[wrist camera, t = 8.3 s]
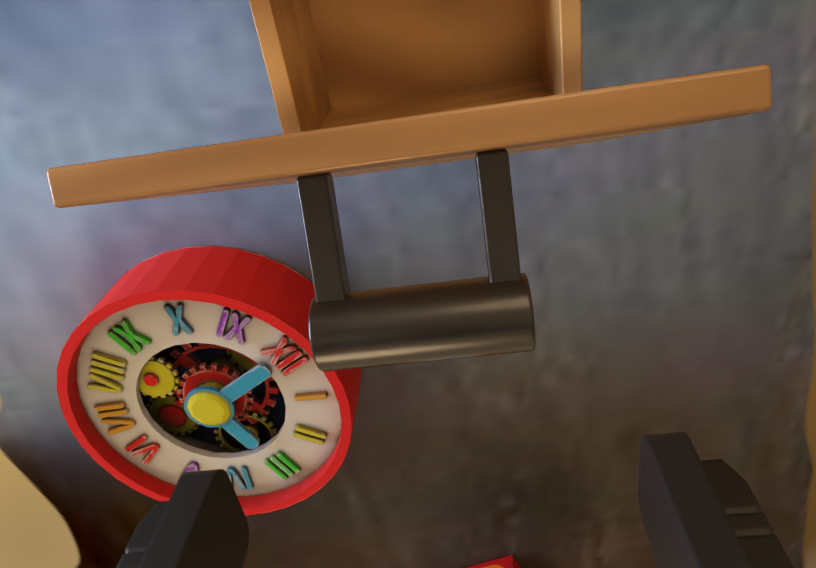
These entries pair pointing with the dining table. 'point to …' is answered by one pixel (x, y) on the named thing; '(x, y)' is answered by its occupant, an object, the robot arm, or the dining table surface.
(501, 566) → the baking soda box
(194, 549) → the robot arm
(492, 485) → the dining table surface
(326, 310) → the lid
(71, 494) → the dining table surface
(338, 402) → the toy clock
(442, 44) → the chest
